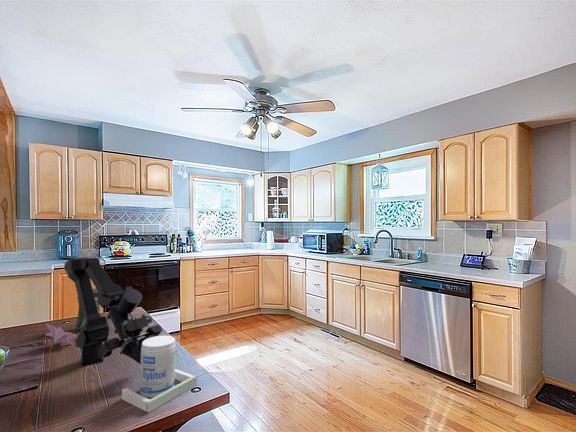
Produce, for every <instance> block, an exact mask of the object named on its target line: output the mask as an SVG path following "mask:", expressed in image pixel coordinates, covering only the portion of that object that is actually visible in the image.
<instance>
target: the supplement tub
mask: <svg viewBox="0 0 576 432" xmlns="http://www.w3.org/2000/svg"><path fill="white" fill-rule="evenodd" d="M139 366H140V368H139V372H140V373H139V395H141V396H143V397H146V398H148V399H152V398H154V397H155V396H157V395H159V394H161V393H163V392H165V391H167V390H168V389H170V388H172V387H174V386H175V379H174V378H175V369H176V338H175V337H173V336H172V335H158V336H155V337H151V338H148V339H146V340H144V341H143V342H142V347H141V364H139Z"/></svg>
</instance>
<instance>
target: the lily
mask: <svg viewBox="0 0 576 432" xmlns="http://www.w3.org/2000/svg"><path fill="white" fill-rule="evenodd" d="M45 325H46V327H47V329H49V330H50V332H47V333H46V334H45V336H47V337H52V338H54V342H53V344H52V345H51V347H50V350H49V352H51V351H52V349H53V347H54V345H55V342H58V343H59V344H62V343H63V342H65V343H68V344H70V345H72V346H73V342H72V341H71V340H70V339H71V338H75V337H77V334H75V333H72V332H69V331H64V330H63V328H62V327H58V328H56V327H55V326H53V325H50V324H48V323H46V324H45Z"/></svg>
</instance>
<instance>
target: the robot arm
mask: <svg viewBox="0 0 576 432" xmlns="http://www.w3.org/2000/svg"><path fill="white" fill-rule="evenodd" d="M63 265H64V266H63V267H64V271H65V272H66V275H67V277H68V278H69V279H70V280H71V281H72V282H74V284H75V286H74V287H75V289H76V293H77V297H78V299H79V302H78V304H79V303H80V307H81V311H82V316H83V322H82V324H81V327H80V331H79V332H80V333H79V334H78V335H77V336H76V338H75V340H74V341H75V347H77V348H79V349H80V358H79V362H80V365H81V367H86V366H90V365H94V364H97V363H100V362H102V363H103V362H104V359H105V358H108V357H111V355H112V353H113V351H114V350H116V349H119V348H120V350H121V351H120V352H119V354H120V355H124V356H126V357H128V358H130V359H132V360H133V361H135V362H136V363H137V364H139V365H140V364H141V347H142V342H143V341H144V340H146V339H148V338H151V337H155V336H160V334H162V332H163V328H162V326H161V325H160V324H155V325H151V326H150V325H149V324H150V323H152V322H153V319H152V316H151V314H150V312H148V313H144V314H142V315H141V317H139V318H136V317H133V315H132V313H133V312H134V311H135V310H136V308H137V307H138V306H139V304H140V303H141V301H142V300H143V294H142V292H140V291H139V290H137V289H135V288H133V287H132V286H126V287H125V288H124V289H123V288H122V287H121V285H119V284H117V283H115V282H113V280H111V278H110V277H109V275H108V274H107V271H105V269H104V268H103V266H102V264H101V263H100V259H99V258H98V257H88V256H87V257H86V256H85V257H72V258H69V259H67V260H66V261H65V262H64V264H63ZM92 283H93V285H94V287H95V289H97V290H98V296H97V299H98V302H99V307H101V308H102V309H109V308H111V309H110V310H108V313H107V316H104V315H103V316H102V315H101V314H100V315H99V313H98V309H97V305H96V301H95V297H94V293H93V289H94V288H93V285H92ZM107 320H110V321H111V322H112V324H113V327H114V331H113V333H114V334H115V335H116V334H117V335H118V337H114V338H111V339H109V338H108V337H109V334H110V326H109V324H108V321H107ZM145 327H147V328H146V330H145V331H144V328H145ZM143 331H144V332H143ZM141 332H142V333H141Z"/></svg>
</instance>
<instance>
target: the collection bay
mask: <svg viewBox="0 0 576 432" xmlns="http://www.w3.org/2000/svg"><path fill="white" fill-rule="evenodd" d="M197 379H198V377H197V376H196V375H193V374H191V373H188V372H186V371H183V370H180V369H177V368H175V378H174V381H175V380H176V381H179V382H180V383H178V384H176V385H174V387H172V388H170V389H168V390H167V391H165V392H163V393H161V394H159V395H157V396H155V397H154V398H147V397H144V396H142V395H141V394H140V393H137V392H135V391H133V390H130V389H129V388H127V387H125V388H124V389H123V388H122V390H121V400H123V401H125V402H126V403H129V404H131V405H132V406H134V407H136V408H139V409H140V410H142V411H144V412H147V413H150V412H152V411H154V410H156V409H158V408H159V407H161V406H163V405H164V404H166V403H168V402H169V401H171V400H173V399H175V398H177V397H178V396H180V395H182V394H183V393H185V392H186V391H188V390H191V389H192V388H194V387H195V385H196V386H197V385H198V383H197V382H198V380H197Z"/></svg>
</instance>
